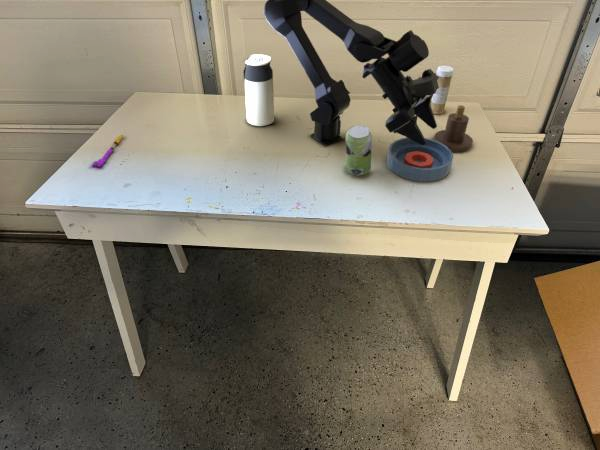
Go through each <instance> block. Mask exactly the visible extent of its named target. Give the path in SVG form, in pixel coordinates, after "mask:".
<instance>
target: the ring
mask: <svg viewBox="0 0 600 450" xmlns="http://www.w3.org/2000/svg"><path fill="white" fill-rule="evenodd" d="M414 160H421V161H424V162H416V161H414ZM433 162H434V159H433V158H432V157H431V156H430V155H429V154H428V153H424V152H420V151H414V152H409V153H407V155H406V156H405V158H404V164H406V165H409V166H413V167H418V168H431V167H432V165H433Z"/></svg>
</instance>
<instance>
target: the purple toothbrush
mask: <svg viewBox="0 0 600 450" xmlns="http://www.w3.org/2000/svg"><path fill="white" fill-rule="evenodd" d="M123 137H124V134H121V135H118V137H117V138H116V139H115V140H114V142H113V144H114V145H113V146H111V147H109V148H108V150H107V151H106V152H105V153H104V155H103V156H102V157H101V158H99V159H97V161H93V163H92V165H91V167H92V168H95V167H97V168H102V167H103V165H104V164H105V163H106V161H107V160H108V158H109V157H110V156H111V154H112V153H113V152H114V149H115V147H116V146H119V145H120V143H121V141H122V139H123Z"/></svg>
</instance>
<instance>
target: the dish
mask: <svg viewBox="0 0 600 450" xmlns="http://www.w3.org/2000/svg"><path fill="white" fill-rule="evenodd" d="M424 138H425V140H426V144H425V145H421V144H419V143H417V142H415V141H413V140H411V139H409V138H407V137H401V138H399V139H396V140H394V141H393V142H391V143H390V145H389V146H388V149H387V155H386V165H387V167H388V168H389V169H390V171H392V172H393V173H395V174H396V175H398V176H399V177H402V178H405V179H406V180H407V179H408V180H411V181H417V182H432V181H439V180H440V179H443V178H445V177H446V176H447V175H448V174H449V173H450V172H451V168H452V164H453V161H454V160H453V159H454V154H453V152H451V150H450V149H449V148H448V147H447V146H445V145H444V144H442V143H440V142H438V141H435V140H434V139H431V138H426V137H424ZM414 151H420V152H424V153H428V154H429V155H430V156H431V157H432V158H433V159H434V162H433V165H432V167H431V168H418V167H413V166H409V165H406V164H404V158H405V156H406V155H407V153H409V152H414ZM414 161H416V162H424V161H421V160H414Z"/></svg>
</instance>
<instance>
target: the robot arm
mask: <svg viewBox="0 0 600 450" xmlns="http://www.w3.org/2000/svg"><path fill="white" fill-rule="evenodd" d="M302 12H305V13H306V14H307V15H308V16H310V17H311V18H313V19H314V20H315V21H316V22H318V23H319V24H320V25H321V26H323V27H325V28H326V29H327V30H328V31H329V32H331V33H332V34H333V35H335V36H336V37H337V38H338V39H340V40H341V41H342V42H343V43H344V46H345V48H346V50H347V51H348V52H349V54H350V55H351V56H352V57H353V58H354V60H356V61H357V62H358V63H362V64H363V63H366V64H364V65H363V72H362V79H367V77H369V76H370V75H371V77H372V78H373V79H374V81H375V82H376V84H377V85H378V86H379V88H380V89H381V90H382V92H383V94H382V95H381V97H382V98H383V99H384V100H386V99H388V101H389V102H390V103H391V104H392V106H393V108H392V109H391V111H392V114H391V115H389V117H388V118H387V119H386V120H385V126H384V127H385V128H386V129H387V131H388V132H389V133H390V134H391V133H394V134H398V135H401V136H403V137H404V138H409V139H411V140H413V141H415V142H417V143H419V144H421V145H425V144H426V140H425V138H426V137H425V136H424V135H423V133H422V130H421V129H420V127H419V125H418V124H417V123H418V122H417V121H418V118H419V120H421V121H422V122H423V123H425V125H427V126H428V127H430V128H431V129H433V130H435V129H437V127H438V125H437V121H436V118H435V114H434V113H433V112H432V108H431V100H432V97H433V94H435V93H436V90H437V89H439V86H438V82H437V80H438V79H439V77H438V76H437V74H436V73H437V72H434V71H433V70H432V69H431V68H428V69H425V70H424V71H423V72H422V73H421V76H418V78H416V79H413V78H412V77H411V76H410V75H406V76H405V75H404V73H407V72H409V71H410V70H412V69H413V68H414V67H416V66H417V65H419V64H420V63H421V62H423V61H424V60H426V59H427V58H428V57H429V54H430V52H429V47H428V45H427V43H426V41H425V40H424V39H422V38H421V37H420V36H419V35H418V34H415V33H414V32H413V30H408V31H406V32H405V33H404V34H403V35H402V36H401V37H400V38H399V39H398V40H395V39H391V38H389V37H386V36H384V34H383V33H382V32H381V31H379V30H377V29H376V28H374V27H372V26H370V25H367V24H362V23H358V22H356V21H355V20H353V19H352V18H351V17H349V16H348V15H346V14H345V13H344V12H343V11H341V10H340V9H339V8H337V7H335V6H334V5H333V4H332V3H330V2H329V1H328V0H267V1H266V2H265V3H264V10H263V15H264V17H265V19H266V21H267V22H268V24H269V25H270V26H271V28H272V29H273V30H274V31H275V32H277V33H278V34H280V35H281V36H283V37H284V38H285V40H286V41H287V43H288V45H289V46H290V49H291V50H292V51H293V54H294V55H295V57H296V58H297V61H298V62H299V64H300V65H301V67H302V69H303V71H304V72H305V74H306V76H307V78H308V79H309V81H310V83H311V85H312V86H313V88H314V97H315V103H316V105H317V107H316V108H315V109H313V111H311V112H310V113H309V115H310V119H311V121H312V122H314V127H313V128H314V131H313V133H311V134H310V137H311V138H313V140H315V141H317V142H318V143H319V144H321V145H322V146H326V145H329V144H333V143H336V142H339V141H342V140H343V136H341V126H342V121H341V115H343V114H344V112H345V111H346V110H347V109H349V107H350V105H351V97H350V94H351V92H350V91H349V90H348V88H347V87H346V85H345V82H344V81H343V80H342V79H340V80H338V81H337V80H335V79H333V78H332V77H331V75H330V73H329V72H328V69H327V68H326V66H325V65H324V62H323V61H322V59H321V57H320V55H319V53H318V52H317V50H316V48H315V47H314V45H313V43H312V41H311V40H310V38H309V36H308V34H307V32H306V31H305V29H304V27H303V22H302V21H303V20H302ZM386 55H388V56H387V57H386V58H385V57H384V56H386ZM372 60H374V61H373V62H372V63H371V61H372Z"/></svg>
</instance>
